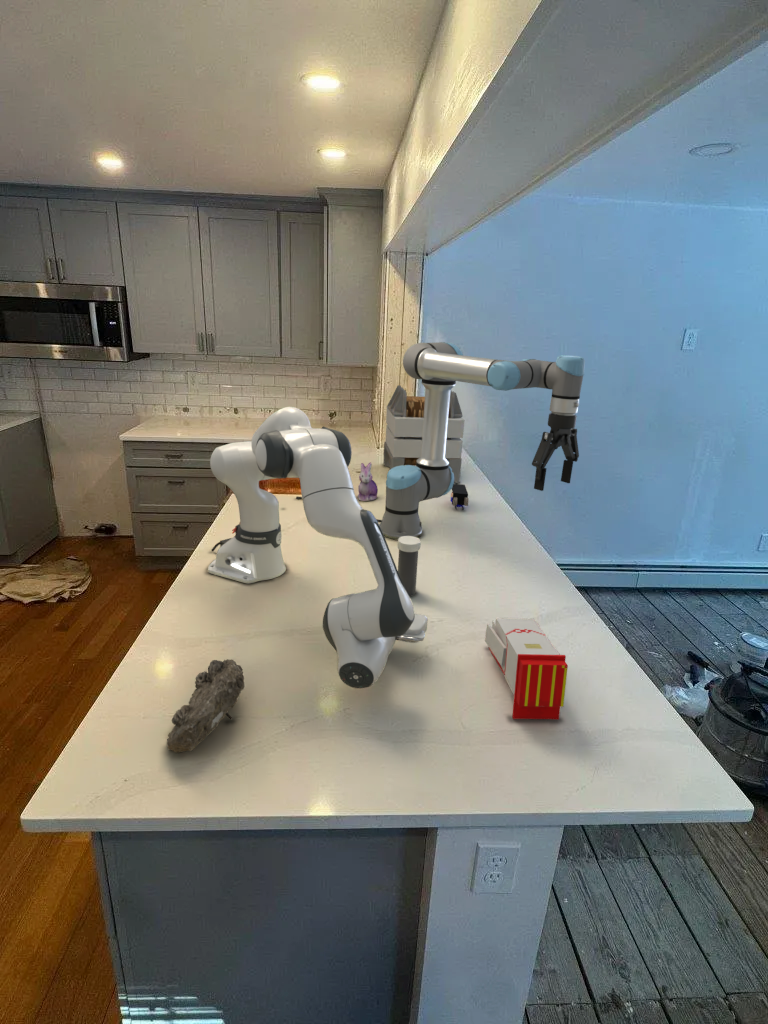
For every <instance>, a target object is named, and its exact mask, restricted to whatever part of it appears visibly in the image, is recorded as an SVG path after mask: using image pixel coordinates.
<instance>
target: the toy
mask: <svg viewBox="0 0 768 1024" xmlns="http://www.w3.org/2000/svg"><path fill="white" fill-rule="evenodd" d="M484 642H485V643H486V645H487V646H488V650H489V651H490V654H491V655H492V657H493V659H494V660H495V662H496V664H497V666H498V667H499V669H500V671H501V672H502V675H503V676H504V678H505V680H506V682H507V684H508V686H509V688H510V691H511V693H512V694H513V704H512V705H513V706H512V715H511V717H512V719H513V720H560V714H561V708H563V707H564V704H565V695H566V685H567V677H568V668H569V666H568V663H567V662H566V657H567V656H566V654H560V653H559V651H558V650H557V648H556V647H555V646H554V645H553V643H552V642H551V640H550V639H549V638H548V636H547V635H546V634H545V632H544V631H543V629H542V628H541V627H540V625H539V623H537V621H536V620H535V619H534V618H523V617H522V618H521V617H520V618H519V617H516V618H515V617H496V618H495V620H492V622H491V624H490V623H486V629H485V637H484Z"/></svg>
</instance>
